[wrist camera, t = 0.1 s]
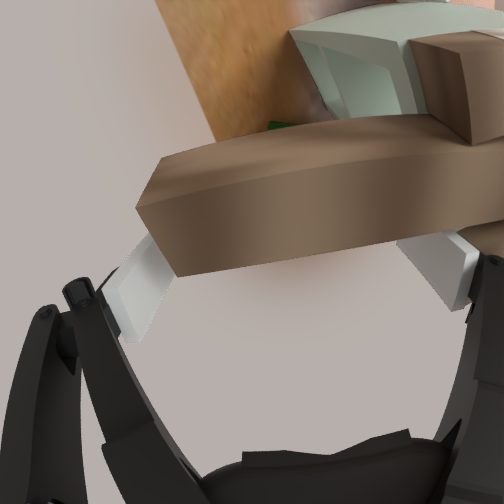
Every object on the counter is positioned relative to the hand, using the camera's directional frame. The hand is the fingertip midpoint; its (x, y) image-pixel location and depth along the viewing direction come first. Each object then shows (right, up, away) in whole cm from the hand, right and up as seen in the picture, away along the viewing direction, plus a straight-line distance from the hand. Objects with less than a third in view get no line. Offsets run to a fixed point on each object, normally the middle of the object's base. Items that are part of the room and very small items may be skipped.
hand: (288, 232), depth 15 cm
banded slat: (+10, +7, -10) cm, 16 cm away
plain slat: (+9, +4, -6) cm, 11 cm away
